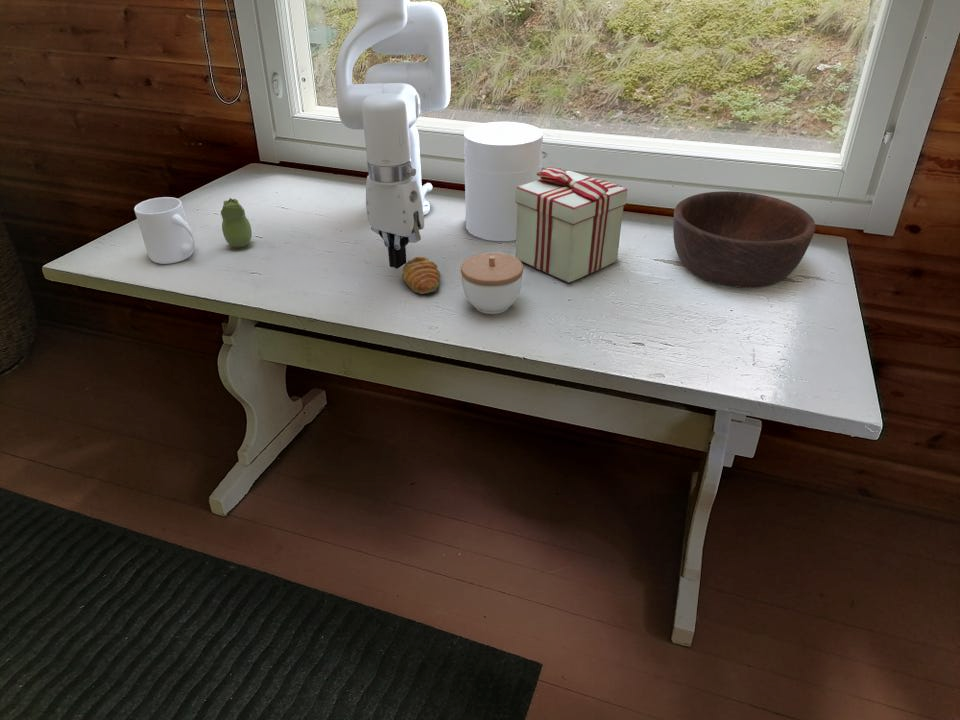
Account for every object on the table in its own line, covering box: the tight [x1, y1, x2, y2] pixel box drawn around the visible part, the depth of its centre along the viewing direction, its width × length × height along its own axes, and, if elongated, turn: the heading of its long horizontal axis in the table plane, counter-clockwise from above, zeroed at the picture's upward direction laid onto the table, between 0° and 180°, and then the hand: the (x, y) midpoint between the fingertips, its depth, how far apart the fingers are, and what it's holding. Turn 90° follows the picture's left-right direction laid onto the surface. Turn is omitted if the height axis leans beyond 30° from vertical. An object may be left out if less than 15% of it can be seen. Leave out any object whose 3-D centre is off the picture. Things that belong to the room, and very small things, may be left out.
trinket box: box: [460, 252, 524, 315], centre depth 120 cm, size 11×11×9 cm
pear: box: [220, 197, 253, 249], centre depth 141 cm, size 6×5×10 cm
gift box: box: [515, 166, 628, 284], centre depth 133 cm, size 17×18×17 cm
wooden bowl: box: [672, 190, 816, 288], centre depth 132 cm, size 25×25×10 cm
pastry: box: [401, 256, 441, 295], centre depth 128 cm, size 9×7×4 cm
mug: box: [133, 196, 196, 265], centre depth 137 cm, size 9×12×11 cm
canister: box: [463, 121, 544, 242], centre depth 145 cm, size 16×16×20 cm
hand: (398, 265), depth 131 cm, fingers closed
